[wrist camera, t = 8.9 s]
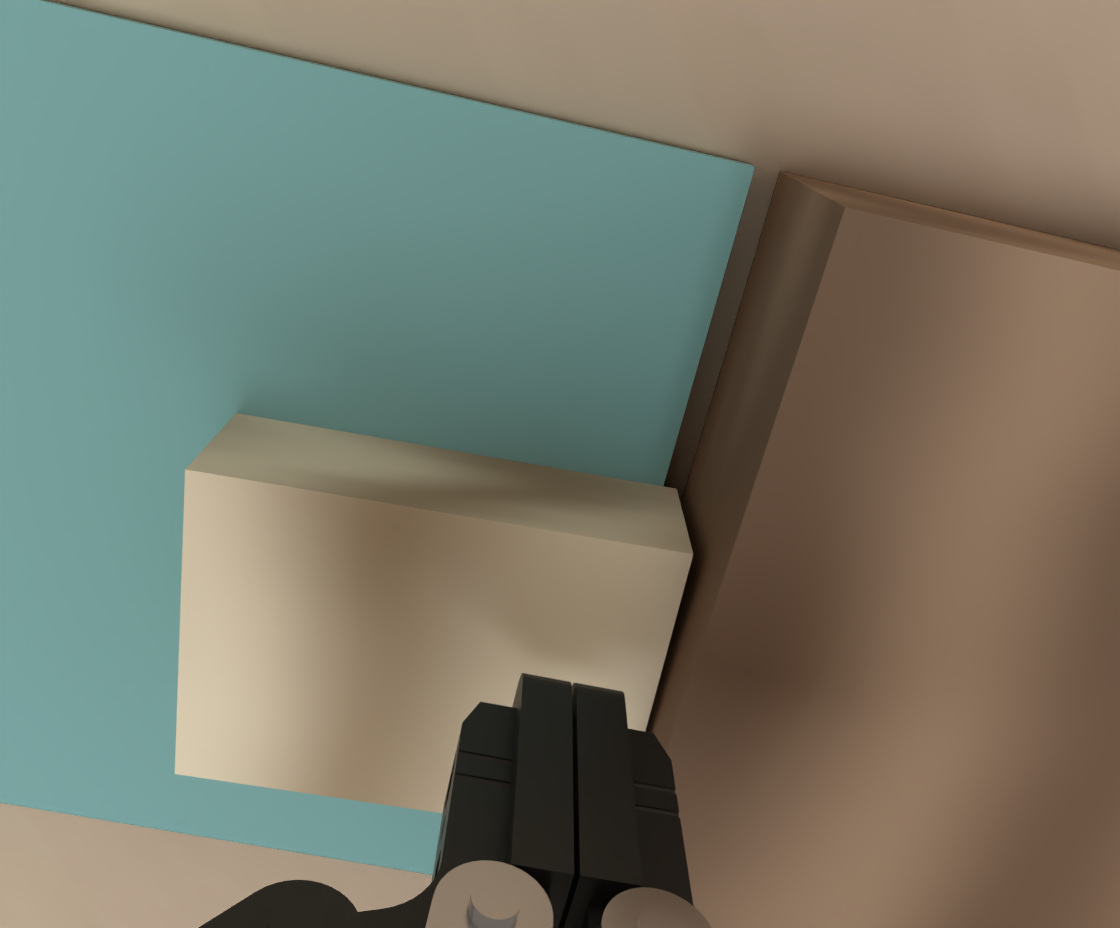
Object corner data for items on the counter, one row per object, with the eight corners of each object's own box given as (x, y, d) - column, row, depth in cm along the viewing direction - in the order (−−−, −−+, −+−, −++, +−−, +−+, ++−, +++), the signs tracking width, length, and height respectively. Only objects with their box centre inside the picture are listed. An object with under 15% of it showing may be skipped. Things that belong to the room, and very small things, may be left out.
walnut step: (1545, 349, 17) (1817, 432, 13) (1138, 979, 23) (1247, 1156, 19) (780, 171, 16) (846, 207, 12) (567, 883, 22) (568, 1051, 18)
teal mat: (751, 163, 16) (754, 166, 15) (546, 880, 22) (545, 894, 22) (-204, -58, 15) (-224, -62, 14) (-136, 764, 21) (-149, 777, 20)
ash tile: (677, 489, 18) (693, 554, 15) (610, 748, 20) (616, 838, 18) (236, 413, 17) (184, 469, 15) (220, 688, 19) (174, 774, 17)
